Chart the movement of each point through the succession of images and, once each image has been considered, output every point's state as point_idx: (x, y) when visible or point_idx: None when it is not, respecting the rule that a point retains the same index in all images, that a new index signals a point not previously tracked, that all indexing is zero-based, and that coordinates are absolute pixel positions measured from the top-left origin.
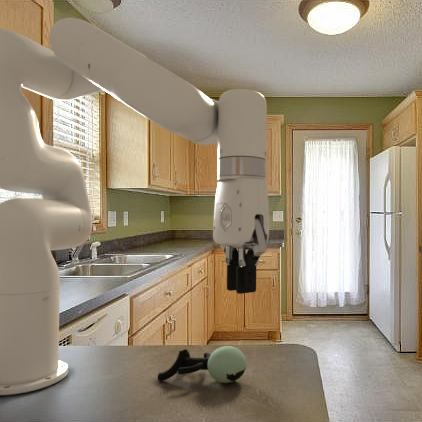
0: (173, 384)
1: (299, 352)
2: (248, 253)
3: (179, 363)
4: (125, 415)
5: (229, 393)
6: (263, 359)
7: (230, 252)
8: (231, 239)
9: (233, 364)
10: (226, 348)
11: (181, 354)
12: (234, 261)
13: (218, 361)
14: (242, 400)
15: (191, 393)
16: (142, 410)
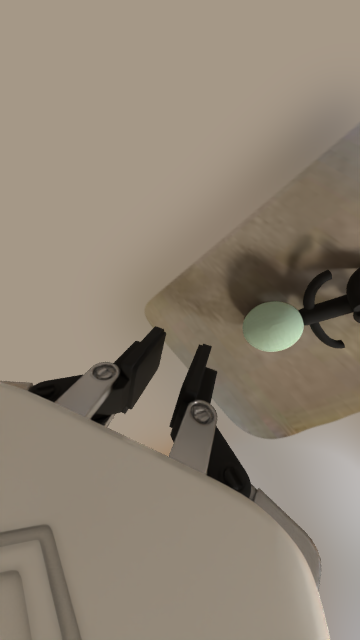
0: (337, 269)
1: (246, 419)
2: (46, 391)
3: (349, 289)
4: (326, 158)
5: (242, 295)
6: (273, 388)
7: (175, 441)
8: (24, 424)
9: (248, 319)
10: (271, 333)
11: (357, 299)
12: (177, 415)
13: (269, 310)
14: (217, 291)
15: (287, 266)
16: (313, 187)
